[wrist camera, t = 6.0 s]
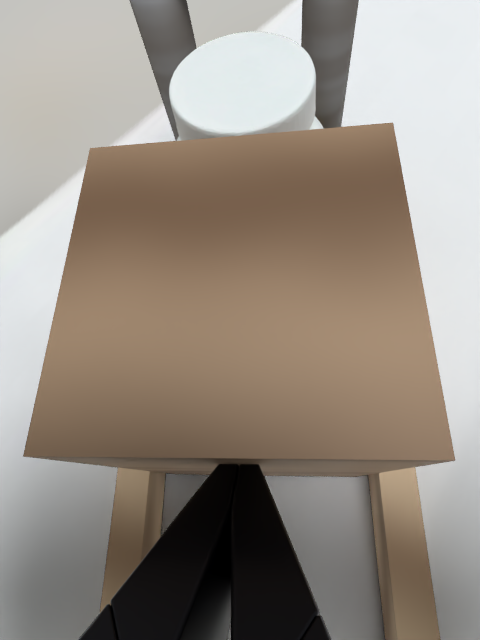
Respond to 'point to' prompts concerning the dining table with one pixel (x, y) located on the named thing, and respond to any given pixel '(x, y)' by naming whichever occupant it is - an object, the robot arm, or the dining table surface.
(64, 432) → the block
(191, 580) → the robot arm
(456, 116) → the dining table surface
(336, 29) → the channel
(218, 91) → the supplement bottle
